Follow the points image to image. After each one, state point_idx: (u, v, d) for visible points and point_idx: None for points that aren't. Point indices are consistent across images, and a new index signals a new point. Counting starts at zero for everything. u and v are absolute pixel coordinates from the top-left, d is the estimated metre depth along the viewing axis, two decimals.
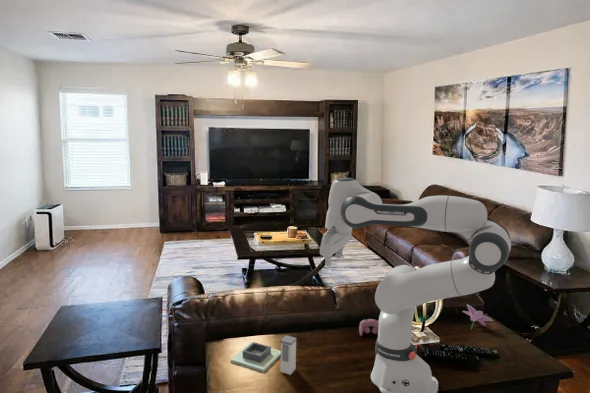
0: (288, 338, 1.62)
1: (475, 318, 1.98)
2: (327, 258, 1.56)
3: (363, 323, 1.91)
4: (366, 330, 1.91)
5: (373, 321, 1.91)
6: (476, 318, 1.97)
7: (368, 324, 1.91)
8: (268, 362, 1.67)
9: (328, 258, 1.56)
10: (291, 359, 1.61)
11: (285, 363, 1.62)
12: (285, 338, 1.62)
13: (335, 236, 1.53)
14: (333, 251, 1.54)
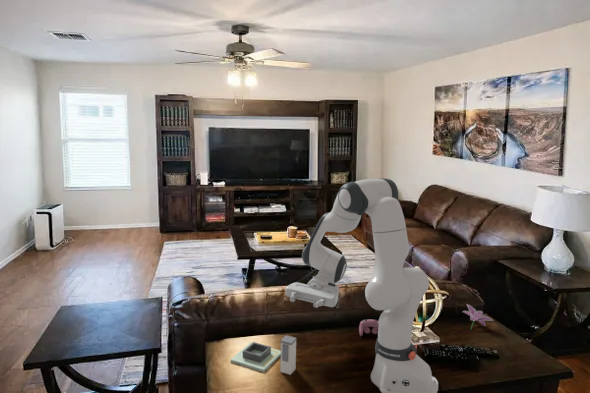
0: (288, 338, 1.62)
1: (475, 318, 1.98)
2: (291, 295, 1.76)
3: (363, 323, 1.91)
4: (366, 330, 1.91)
5: (373, 321, 1.90)
6: (476, 318, 1.98)
7: (368, 324, 1.90)
8: (268, 362, 1.67)
9: (291, 294, 1.76)
10: (291, 359, 1.61)
11: (285, 363, 1.62)
12: (285, 338, 1.62)
13: (300, 283, 1.82)
14: (294, 288, 1.78)
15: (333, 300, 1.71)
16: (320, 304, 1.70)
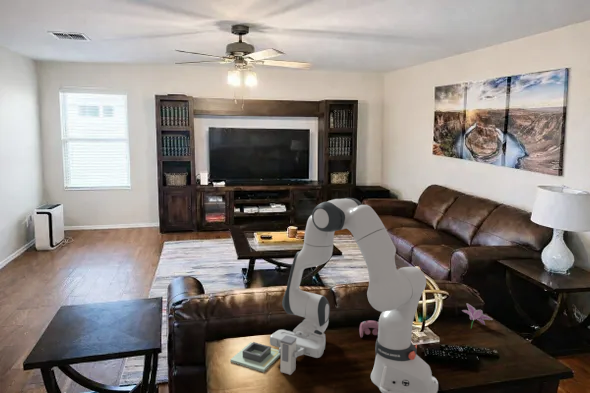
0: (288, 338, 1.62)
1: (475, 317, 1.99)
2: (280, 346, 1.66)
3: (363, 324, 1.90)
4: (366, 332, 1.90)
5: (373, 322, 1.89)
6: (476, 317, 1.99)
7: (368, 325, 1.89)
8: (268, 362, 1.67)
9: (280, 345, 1.66)
10: (291, 359, 1.61)
11: (285, 363, 1.62)
12: (285, 338, 1.62)
13: (286, 331, 1.74)
14: (279, 337, 1.70)
15: (319, 350, 1.62)
16: (300, 353, 1.62)
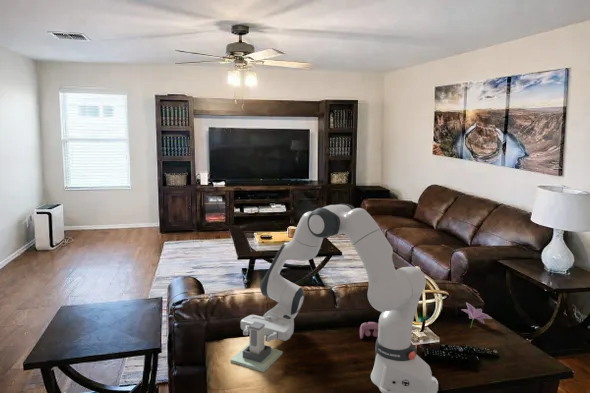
0: (256, 324, 1.70)
1: (474, 316, 2.00)
2: None
3: (363, 326, 1.88)
4: (367, 333, 1.89)
5: (374, 324, 1.88)
6: (475, 316, 1.99)
7: (369, 327, 1.88)
8: (268, 362, 1.67)
9: (245, 328, 1.75)
10: (259, 344, 1.68)
11: (253, 348, 1.69)
12: (254, 324, 1.70)
13: (256, 315, 1.82)
14: (249, 321, 1.77)
15: (286, 333, 1.69)
16: (272, 338, 1.69)
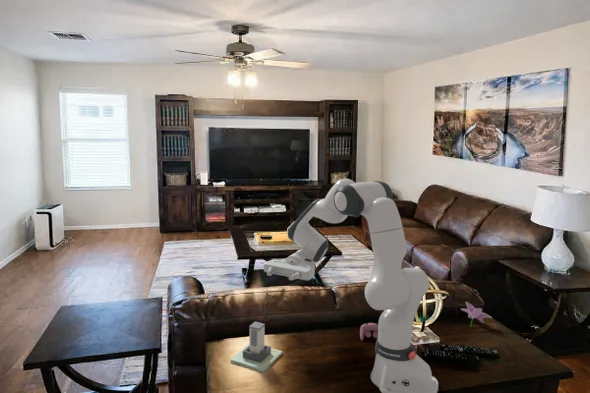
0: (256, 324, 1.70)
1: (474, 315, 2.00)
2: None
3: (364, 327, 1.87)
4: (367, 334, 1.88)
5: (374, 325, 1.87)
6: (475, 315, 2.00)
7: (369, 328, 1.87)
8: (268, 362, 1.67)
9: (269, 269, 1.82)
10: (259, 344, 1.68)
11: (253, 348, 1.69)
12: (254, 324, 1.70)
13: (278, 260, 1.89)
14: (272, 263, 1.85)
15: (308, 273, 1.77)
16: (295, 277, 1.77)
